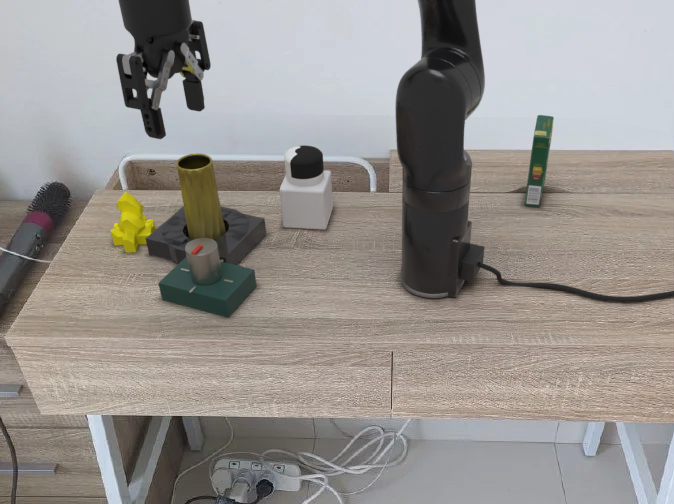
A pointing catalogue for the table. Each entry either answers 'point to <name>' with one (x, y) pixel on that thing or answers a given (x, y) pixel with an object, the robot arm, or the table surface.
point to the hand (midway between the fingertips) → (177, 122)
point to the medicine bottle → (306, 189)
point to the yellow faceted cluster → (131, 224)
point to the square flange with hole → (231, 246)
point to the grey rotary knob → (203, 261)
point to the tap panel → (209, 288)
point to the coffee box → (539, 160)
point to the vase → (200, 197)
